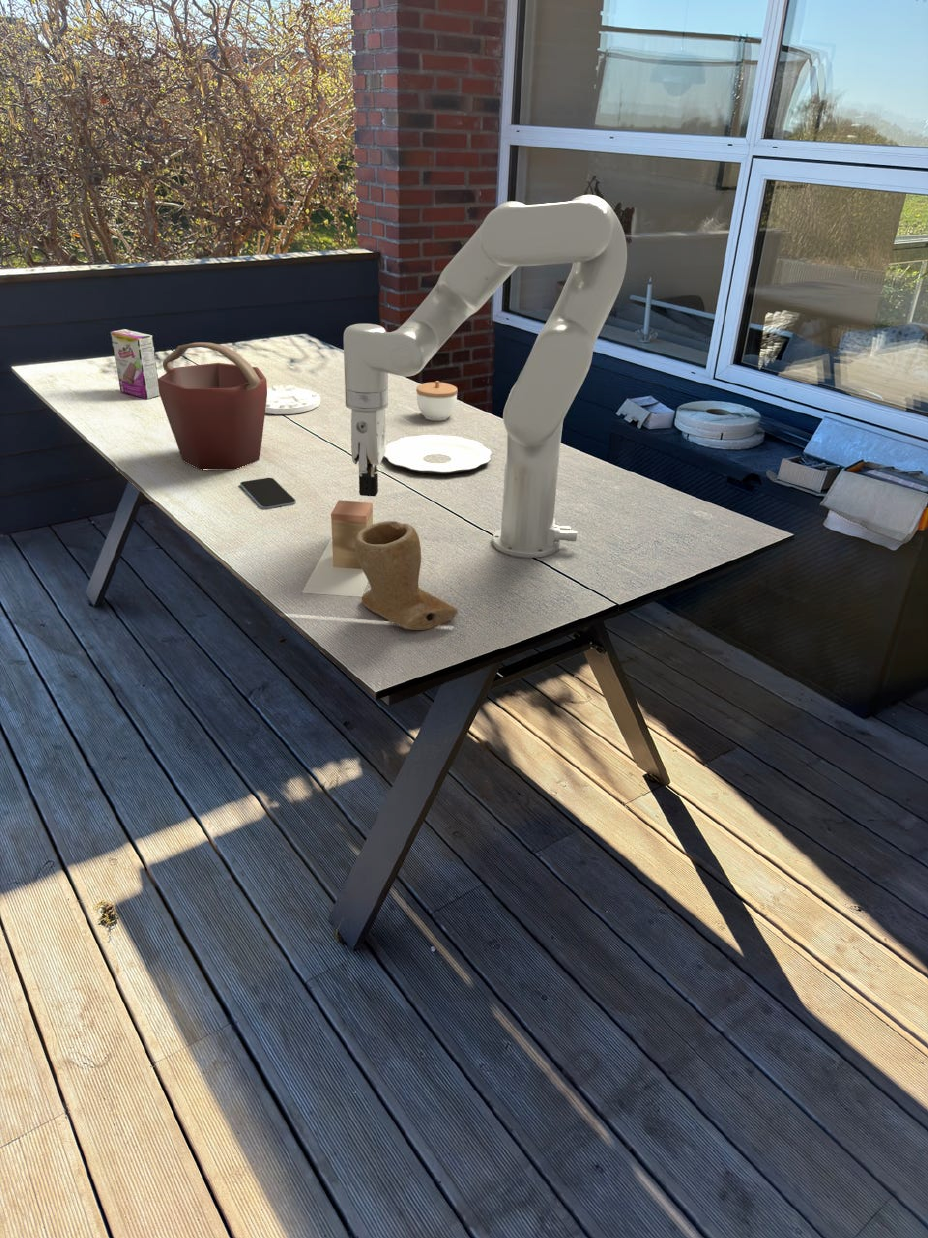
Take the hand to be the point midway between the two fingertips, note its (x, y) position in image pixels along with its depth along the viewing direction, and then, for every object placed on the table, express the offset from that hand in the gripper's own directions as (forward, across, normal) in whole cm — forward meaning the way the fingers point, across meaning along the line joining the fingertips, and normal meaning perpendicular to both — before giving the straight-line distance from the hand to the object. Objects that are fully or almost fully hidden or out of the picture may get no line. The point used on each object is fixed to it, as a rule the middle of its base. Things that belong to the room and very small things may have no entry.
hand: (368, 494), depth 167 cm
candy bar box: (+8, +78, +78) cm, 111 cm away
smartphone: (+8, +14, +24) cm, 29 cm away
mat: (+7, -17, +1) cm, 18 cm away
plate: (+8, +42, -8) cm, 44 cm away
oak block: (+7, -15, 0) cm, 16 cm away
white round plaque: (+8, +77, +38) cm, 86 cm away
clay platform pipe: (+7, -32, -11) cm, 35 cm away
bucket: (+7, +34, +40) cm, 53 cm away
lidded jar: (+7, +74, -4) cm, 75 cm away
